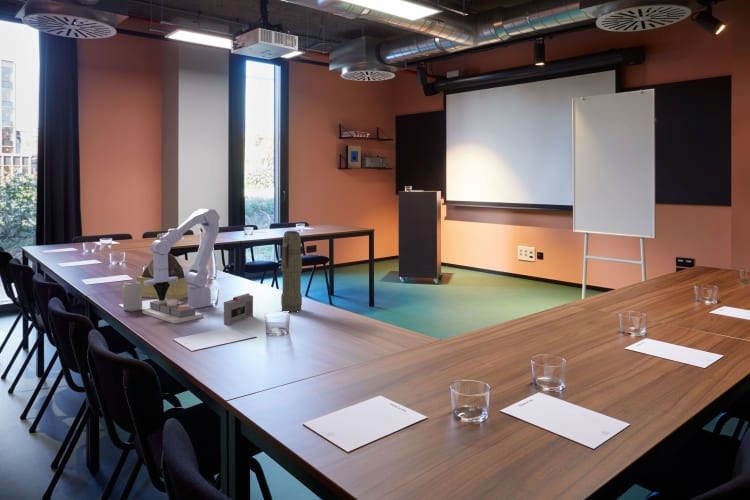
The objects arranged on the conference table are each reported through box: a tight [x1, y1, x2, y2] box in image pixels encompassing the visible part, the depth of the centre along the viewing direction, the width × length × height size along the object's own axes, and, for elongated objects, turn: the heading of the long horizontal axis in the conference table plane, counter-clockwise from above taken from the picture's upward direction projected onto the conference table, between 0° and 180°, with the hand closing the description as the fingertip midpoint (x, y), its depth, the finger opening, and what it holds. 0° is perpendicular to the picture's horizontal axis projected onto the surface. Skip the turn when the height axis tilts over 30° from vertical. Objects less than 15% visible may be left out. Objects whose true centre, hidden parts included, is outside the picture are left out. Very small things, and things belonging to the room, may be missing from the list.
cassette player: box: [223, 293, 254, 326], centre depth 220 cm, size 16×3×10 cm, turn 157°
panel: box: [142, 300, 204, 324], centre depth 226 cm, size 13×24×4 cm, turn 51°
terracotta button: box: [178, 304, 188, 310], centre depth 221 cm, size 4×4×3 cm
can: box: [122, 280, 143, 312], centre depth 234 cm, size 8×8×12 cm
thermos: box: [280, 230, 303, 313], centre depth 237 cm, size 9×12×35 cm
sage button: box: [156, 299, 168, 304], centre depth 231 cm, size 4×4×3 cm
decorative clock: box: [136, 233, 188, 301], centre depth 262 cm, size 28×13×30 cm, turn 72°
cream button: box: [166, 299, 178, 307], centre depth 226 cm, size 4×4×3 cm
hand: (161, 300), depth 230 cm, fingers closed, pressing on sage button
